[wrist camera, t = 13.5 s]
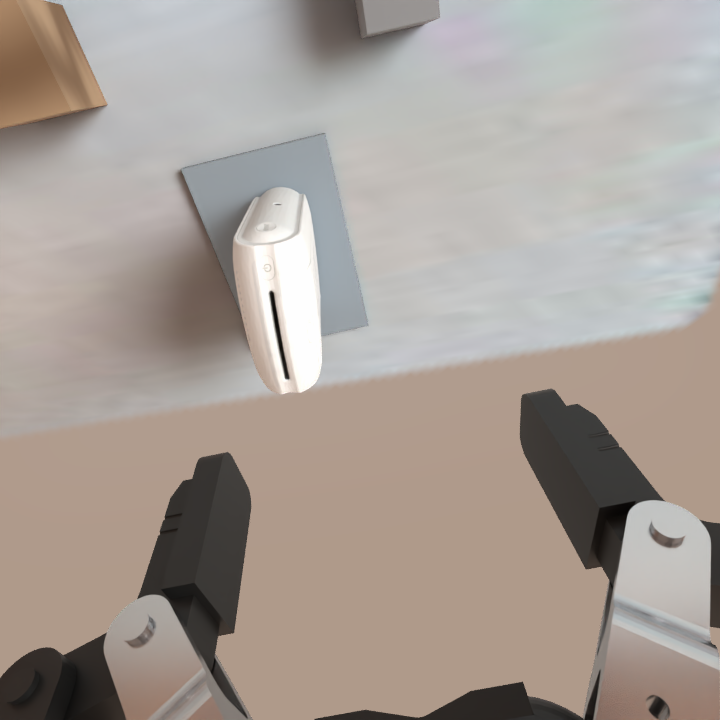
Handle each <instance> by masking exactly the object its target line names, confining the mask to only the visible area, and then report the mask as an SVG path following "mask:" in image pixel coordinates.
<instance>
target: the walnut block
mask: <svg viewBox="0 0 720 720" xmlns="http://www.w3.org/2000/svg"><path fill="white" fill-rule="evenodd" d="M104 105H107V103H106V101H105V98H104V96H103V94H102V92H101V90H100V87H99V85H98V83H97V81H96V79H95V76H94V74H93V72H92V70H91V68H90V65H89V63H88V61H87V59H86V57H85V54H84V52H83V50H82V48H81V46H80V43H79V41H78V39H77V37H76V35H75V32H74V30H73V28H72V26H71V24H70V21H69V19H68V17H67V15H66V13H65V10H64V8H63V6H62V5H59V4H55V3H51V2H47V1H43V0H0V129H2V128H8V127H13V126H18V125H23V124H29V123H34V122H38V121H42V120H46V119H50V118H54V117H59V116H63V115H67V114H71V113H75V112H79V111H84V110H88V109H92V108H96V107H100V106H104Z"/></svg>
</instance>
